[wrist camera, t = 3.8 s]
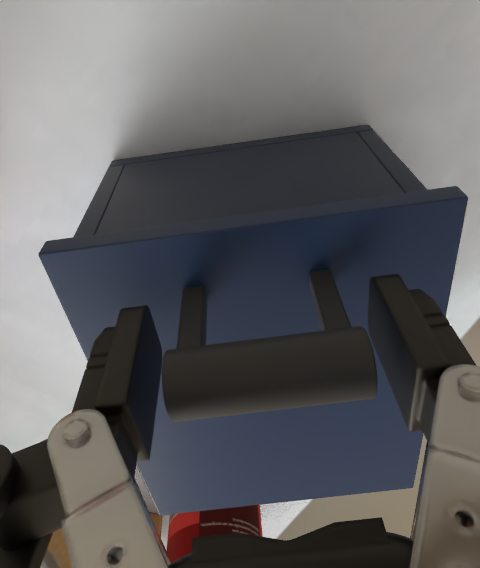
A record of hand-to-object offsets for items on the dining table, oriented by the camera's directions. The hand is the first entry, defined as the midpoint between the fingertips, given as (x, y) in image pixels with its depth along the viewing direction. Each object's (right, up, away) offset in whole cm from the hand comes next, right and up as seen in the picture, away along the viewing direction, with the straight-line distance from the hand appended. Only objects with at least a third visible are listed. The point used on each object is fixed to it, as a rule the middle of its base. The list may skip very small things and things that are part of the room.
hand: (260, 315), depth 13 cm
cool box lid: (+1, -3, +5) cm, 6 cm away
